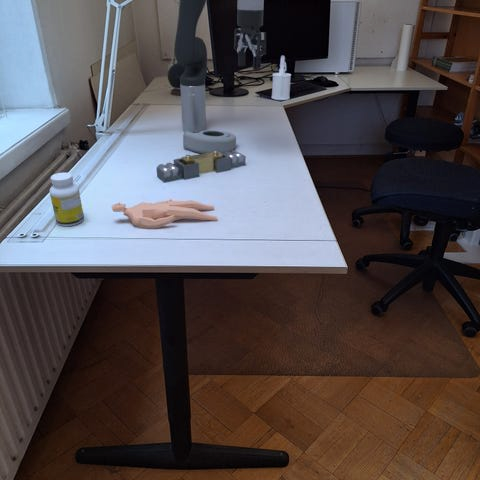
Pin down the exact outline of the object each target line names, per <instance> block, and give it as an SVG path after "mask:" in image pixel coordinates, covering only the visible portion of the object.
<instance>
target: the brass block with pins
mask: <svg viewBox="0 0 480 480" xmlns="http://www.w3.org/2000/svg"><path fill="white" fill-rule="evenodd" d="M181 158H182V163H183V164H184V165H188V164H194V163H199V175H201V174H206V173H212V172H215V159H219V158H223V155H222V154H221V153H219V152H218V151H213V152H212V153H205V154H202V153H198V154H192V155H191V154H185V156H181Z"/></svg>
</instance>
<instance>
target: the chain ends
mask: <svg viewBox="0 0 480 480" xmlns="http://www.w3.org/2000/svg"><path fill="white" fill-rule="evenodd" d="M218 152H219V153H221V154H222V155H223V158H219V159H215V171H214V172H215V173H217V174H218V173H221V172H227V171H230V170H232V169H235V168H239V167H244V166H246V155H244V154H242V153H240V152H238V151H237V150H235V149H233V150H232V151H230V152H225V153H222V152H221V151H218ZM211 153H212V152H211ZM172 160H173V163H172V162H166V163H165V164H162V163H160V164H158V165H157V166H156V178H158V179H159V180H160V181H162V183H169V182H172V181H173V182H174V181H177V180H182V179H183V180H184V181H185V180H189V179H194V178H198V177H200V174H199V163H194V164H188V165H184V164H183V163H182V157H180V158H176V159H172Z"/></svg>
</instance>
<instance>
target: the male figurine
mask: <svg viewBox="0 0 480 480" xmlns="http://www.w3.org/2000/svg"><path fill="white" fill-rule="evenodd" d="M126 205H127V204H126V203H121V202H117V203H115V204H112V205H111V210H112V212H116V213H121V212H122V213H123V216H125V217H126V218H128V219H129V220H130V222H131V223H132V225H133V226H135V227H136V228H140V229H159V228H162V227H165V226H167V225H169V224H171V223H173V222H174V221H178V220H182V219H193V220H203V221H204V220H205V221H207V220H209V221H214V222H218V221H217V219H218V216H217V215H211V214H208V213H206V212H202V211H205V210H207V211H215V206H214V205H209V204H208V205H207V204H204V203H201V202H198V201H195V200H186V201H184V200H172V198H170V199H168V200H165V201H164V200H163V201H158V202H154V203H152V202H140V203H138V204H136V205H133V206H132V207H126Z"/></svg>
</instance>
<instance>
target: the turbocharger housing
mask: <svg viewBox="0 0 480 480" xmlns="http://www.w3.org/2000/svg"><path fill="white" fill-rule="evenodd" d="M236 143H237V137H236V135H235V134H234V133H231V132H230V131H224V130H215V129H210V130H209V129H206V130H205V131H200V132H197V133H195V132H189V131H184V132H183V134H182V146H183V149H184V150H189V151H191V152H194V153H198V154H205V153H211V152H213V151H221V152H222V153H225V152H229V151H230V152H231V151H232V150H235V148H236V146H237V145H236Z"/></svg>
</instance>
